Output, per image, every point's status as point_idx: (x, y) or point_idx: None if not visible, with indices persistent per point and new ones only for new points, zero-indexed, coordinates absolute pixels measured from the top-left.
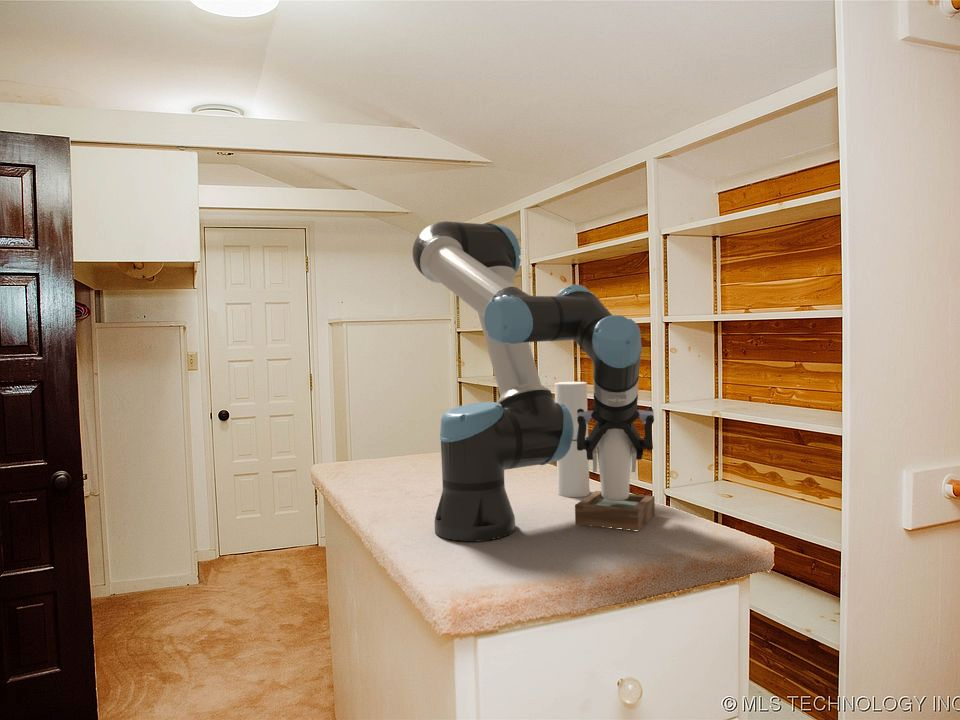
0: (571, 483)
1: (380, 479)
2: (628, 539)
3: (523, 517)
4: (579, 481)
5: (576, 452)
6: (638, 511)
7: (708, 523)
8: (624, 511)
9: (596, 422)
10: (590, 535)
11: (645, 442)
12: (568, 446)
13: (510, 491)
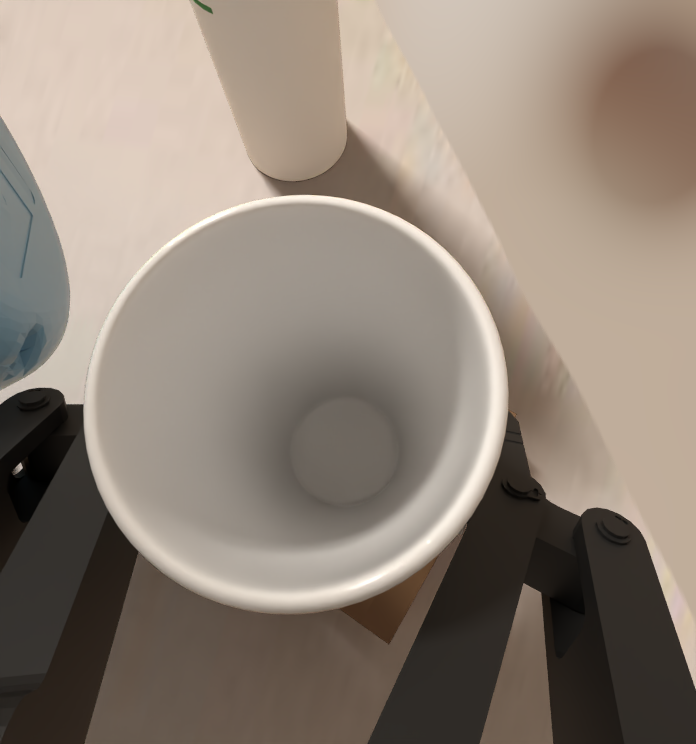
0: (268, 146)
1: None
2: (330, 705)
3: (68, 383)
4: (296, 142)
5: (261, 38)
6: (396, 630)
7: (661, 561)
8: (342, 610)
9: (91, 369)
10: (218, 630)
11: (557, 576)
12: (8, 382)
13: (111, 95)
